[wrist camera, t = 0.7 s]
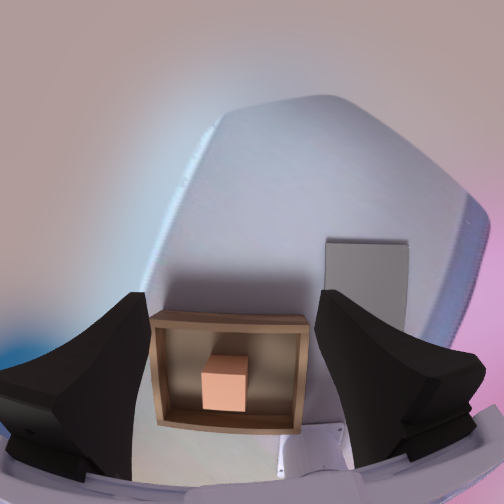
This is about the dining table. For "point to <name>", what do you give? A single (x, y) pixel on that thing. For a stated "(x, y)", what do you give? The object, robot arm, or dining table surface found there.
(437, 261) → the dining table surface
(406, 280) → the slate mat
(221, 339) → the walnut box
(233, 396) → the terracotta block
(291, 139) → the dining table surface
